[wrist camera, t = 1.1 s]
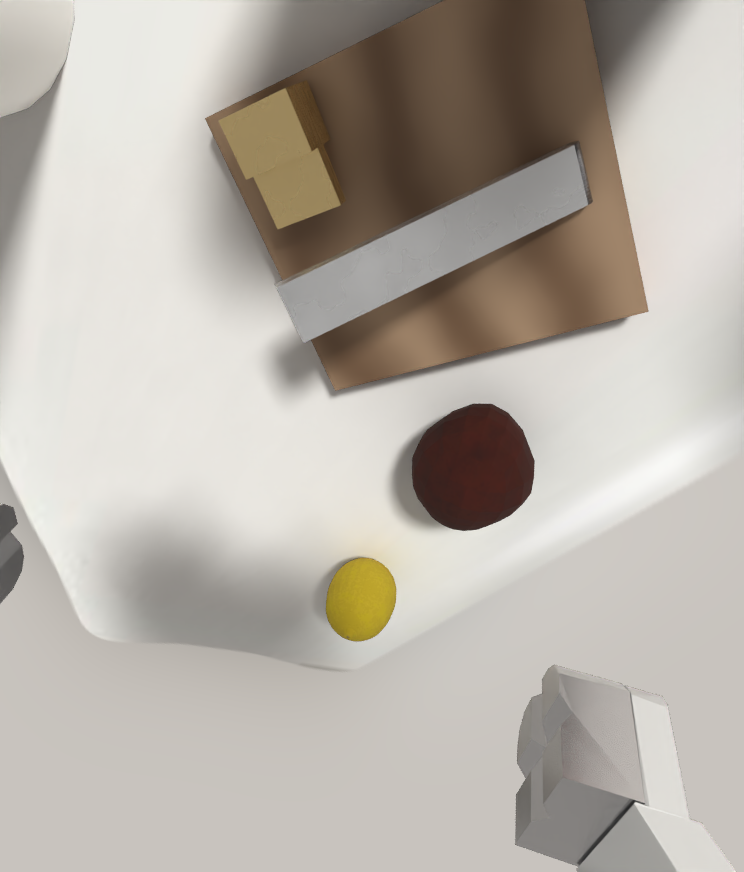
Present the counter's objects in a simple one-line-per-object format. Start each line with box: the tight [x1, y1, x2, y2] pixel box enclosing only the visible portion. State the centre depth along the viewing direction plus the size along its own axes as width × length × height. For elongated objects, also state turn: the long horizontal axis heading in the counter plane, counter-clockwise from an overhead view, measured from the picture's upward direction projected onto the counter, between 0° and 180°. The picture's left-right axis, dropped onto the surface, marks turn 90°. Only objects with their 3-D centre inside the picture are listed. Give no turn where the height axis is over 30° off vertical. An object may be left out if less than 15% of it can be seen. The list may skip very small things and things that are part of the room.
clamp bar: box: [275, 141, 593, 343], centre depth 32 cm, size 16×3×1 cm, turn 113°
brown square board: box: [205, 0, 648, 391], centre depth 37 cm, size 20×18×2 cm
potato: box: [412, 404, 534, 531], centre depth 43 cm, size 8×9×8 cm
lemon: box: [326, 558, 396, 641], centre depth 52 cm, size 6×6×8 cm
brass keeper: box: [219, 80, 346, 229], centre depth 34 cm, size 4×6×3 cm, turn 23°
